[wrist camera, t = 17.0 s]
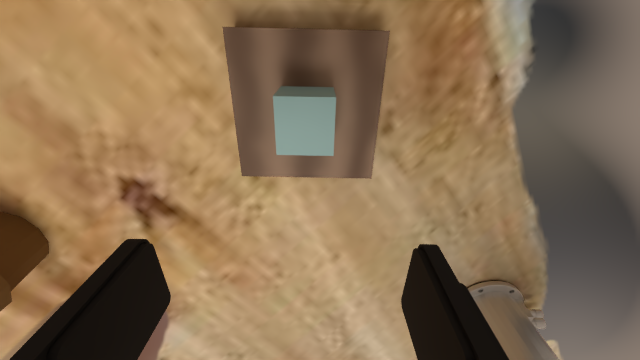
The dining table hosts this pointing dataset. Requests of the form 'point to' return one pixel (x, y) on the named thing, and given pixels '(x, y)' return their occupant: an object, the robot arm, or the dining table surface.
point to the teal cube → (304, 120)
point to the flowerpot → (18, 253)
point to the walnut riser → (306, 71)
